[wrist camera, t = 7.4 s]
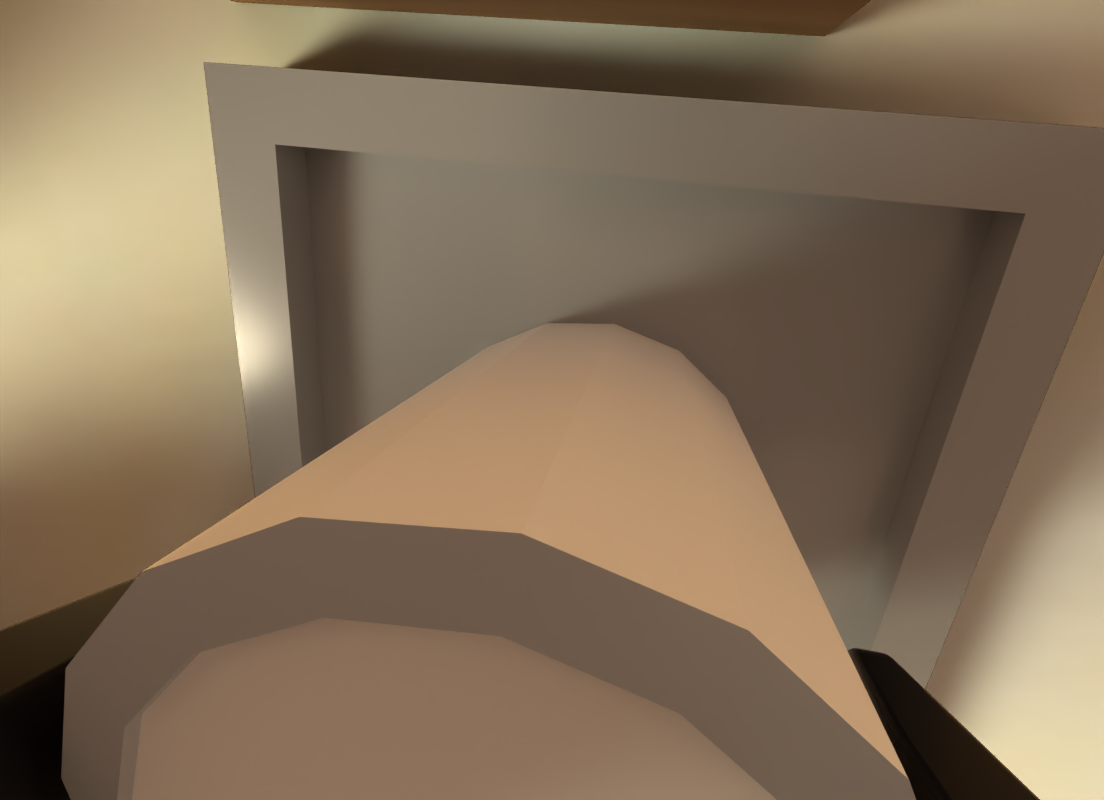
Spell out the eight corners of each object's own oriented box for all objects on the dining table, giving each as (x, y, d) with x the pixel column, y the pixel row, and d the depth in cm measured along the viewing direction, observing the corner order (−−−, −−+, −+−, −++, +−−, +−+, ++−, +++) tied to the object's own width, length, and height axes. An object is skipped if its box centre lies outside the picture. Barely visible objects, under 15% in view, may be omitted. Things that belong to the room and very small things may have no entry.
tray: (847, 752, 13) (868, 828, 12) (317, 641, 15) (278, 694, 13) (1072, 134, 9) (1153, 131, 7) (270, 74, 10) (203, 61, 9)
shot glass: (412, 244, 10) (-46, 406, 4) (849, 330, 9) (1221, 721, 3) (389, 582, 13) (100, 1015, 6) (727, 671, 12) (783, 1261, 6)
